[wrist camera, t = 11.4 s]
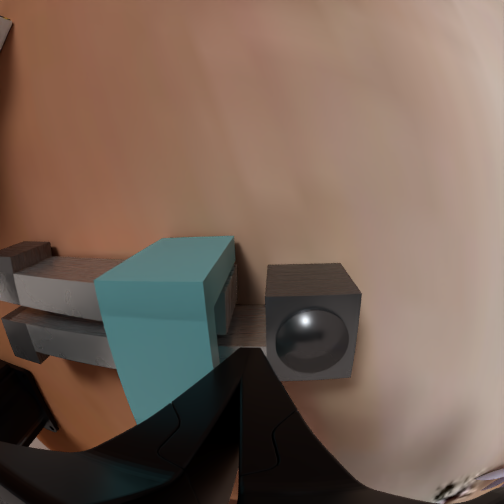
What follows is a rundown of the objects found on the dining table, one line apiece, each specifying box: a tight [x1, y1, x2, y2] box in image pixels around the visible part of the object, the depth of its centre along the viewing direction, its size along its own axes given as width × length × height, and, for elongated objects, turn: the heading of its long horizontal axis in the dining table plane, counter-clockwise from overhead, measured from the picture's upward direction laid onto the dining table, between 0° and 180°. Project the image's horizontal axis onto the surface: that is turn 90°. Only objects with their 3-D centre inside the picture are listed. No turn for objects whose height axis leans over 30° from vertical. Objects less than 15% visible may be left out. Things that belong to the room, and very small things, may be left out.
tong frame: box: [1, 263, 362, 381], centre depth 11 cm, size 16×4×3 cm, turn 93°
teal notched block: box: [94, 236, 235, 425], centre depth 10 cm, size 3×6×5 cm, turn 2°
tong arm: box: [0, 241, 237, 335], centre depth 11 cm, size 12×2×3 cm, turn 90°
